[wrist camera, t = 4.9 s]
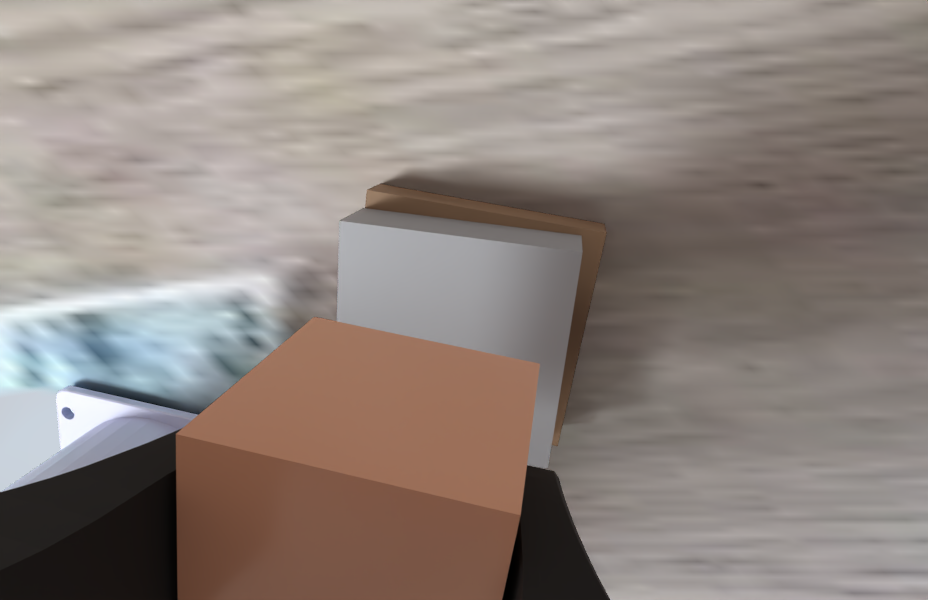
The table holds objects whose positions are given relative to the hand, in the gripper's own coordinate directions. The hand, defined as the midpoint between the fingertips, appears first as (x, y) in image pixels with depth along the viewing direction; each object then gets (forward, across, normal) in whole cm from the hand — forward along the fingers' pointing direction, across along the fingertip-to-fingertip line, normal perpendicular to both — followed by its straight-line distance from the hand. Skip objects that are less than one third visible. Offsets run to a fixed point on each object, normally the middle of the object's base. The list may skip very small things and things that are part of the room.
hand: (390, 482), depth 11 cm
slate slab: (+8, 0, 0) cm, 8 cm away
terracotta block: (+2, 0, 0) cm, 2 cm away
